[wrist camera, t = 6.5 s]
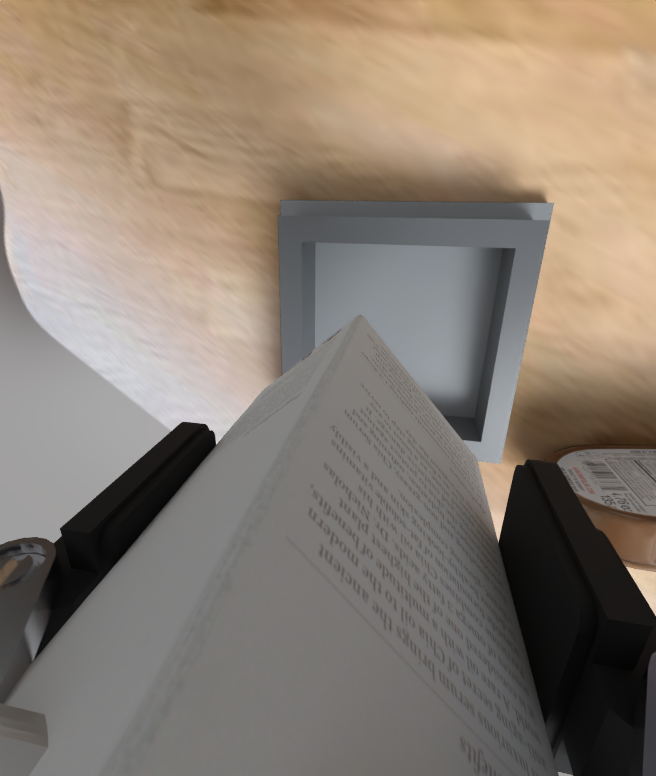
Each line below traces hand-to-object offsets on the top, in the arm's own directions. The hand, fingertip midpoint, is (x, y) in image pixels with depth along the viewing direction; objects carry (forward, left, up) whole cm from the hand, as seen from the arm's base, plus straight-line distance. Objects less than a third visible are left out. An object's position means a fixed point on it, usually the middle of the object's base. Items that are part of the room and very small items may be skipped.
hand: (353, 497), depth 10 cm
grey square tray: (0, 0, -17) cm, 17 cm away
